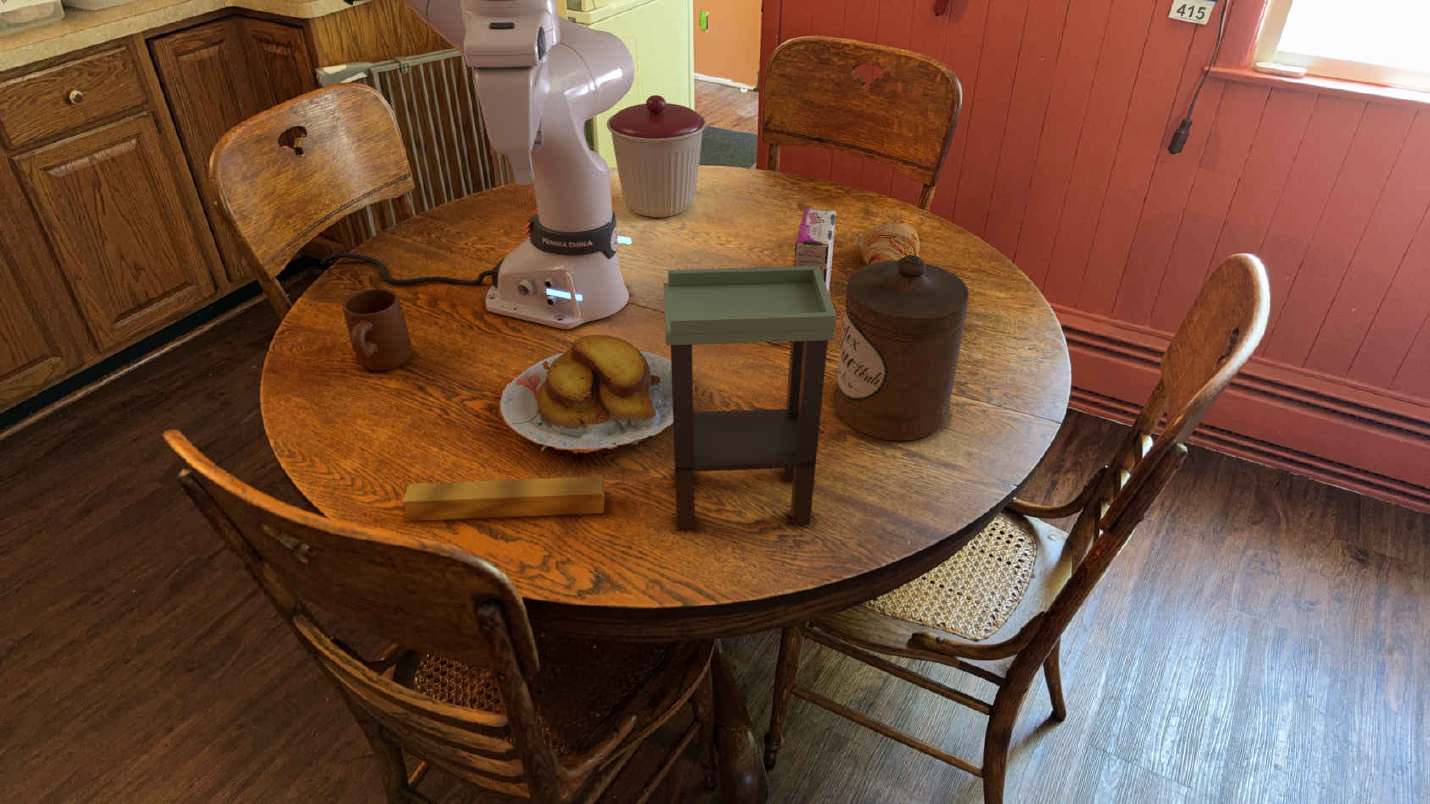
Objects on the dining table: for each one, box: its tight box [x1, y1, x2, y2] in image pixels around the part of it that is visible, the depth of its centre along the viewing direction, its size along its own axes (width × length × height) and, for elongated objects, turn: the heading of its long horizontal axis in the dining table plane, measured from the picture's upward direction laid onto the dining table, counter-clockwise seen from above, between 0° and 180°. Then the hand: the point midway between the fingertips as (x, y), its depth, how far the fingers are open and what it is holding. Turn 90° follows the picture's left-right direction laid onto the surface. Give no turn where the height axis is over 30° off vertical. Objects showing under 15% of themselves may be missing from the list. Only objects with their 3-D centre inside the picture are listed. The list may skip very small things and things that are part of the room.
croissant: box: [858, 219, 920, 265], centre depth 146 cm, size 21×10×8 cm, turn 163°
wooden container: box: [834, 255, 970, 442], centre depth 107 cm, size 15×15×22 cm
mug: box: [342, 288, 413, 372], centre depth 118 cm, size 12×8×9 cm, turn 2°
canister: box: [606, 94, 707, 218], centre depth 159 cm, size 18×18×21 cm
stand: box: [663, 266, 837, 531], centre depth 92 cm, size 16×10×28 cm, turn 94°
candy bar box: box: [793, 208, 837, 294], centre depth 126 cm, size 11×5×16 cm, turn 168°
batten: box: [402, 475, 606, 522], centre depth 97 cm, size 22×3×3 cm, turn 94°
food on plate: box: [497, 334, 696, 459], centre depth 112 cm, size 25×25×7 cm
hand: (530, 164), depth 89 cm, fingers open, 8 cm apart
